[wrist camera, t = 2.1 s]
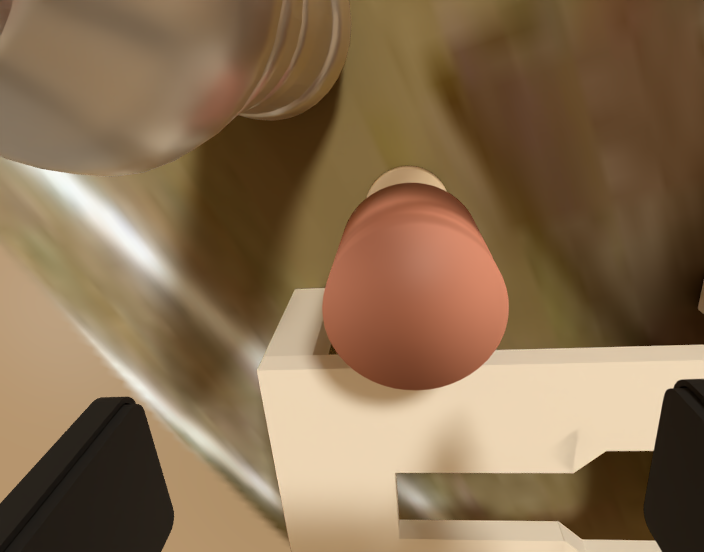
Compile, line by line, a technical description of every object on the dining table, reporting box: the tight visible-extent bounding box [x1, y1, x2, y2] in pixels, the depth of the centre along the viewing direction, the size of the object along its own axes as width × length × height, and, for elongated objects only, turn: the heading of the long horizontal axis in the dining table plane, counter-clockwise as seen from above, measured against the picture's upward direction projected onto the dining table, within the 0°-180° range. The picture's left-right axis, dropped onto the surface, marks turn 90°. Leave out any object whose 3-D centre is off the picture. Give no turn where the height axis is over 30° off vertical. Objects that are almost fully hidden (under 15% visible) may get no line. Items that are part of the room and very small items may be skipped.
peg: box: [322, 166, 509, 390], centre depth 18 cm, size 5×5×11 cm
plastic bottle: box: [0, 0, 351, 177], centre depth 12 cm, size 6×7×20 cm
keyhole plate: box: [257, 281, 704, 552], centre depth 23 cm, size 22×14×8 cm, turn 95°
